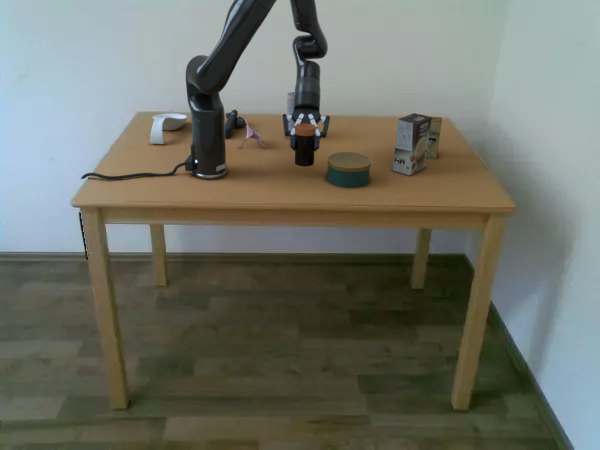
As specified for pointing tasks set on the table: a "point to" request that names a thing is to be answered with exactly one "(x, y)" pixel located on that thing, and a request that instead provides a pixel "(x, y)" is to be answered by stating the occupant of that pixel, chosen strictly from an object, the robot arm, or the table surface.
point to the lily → (252, 134)
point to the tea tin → (304, 144)
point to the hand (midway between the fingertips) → (304, 149)
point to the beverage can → (290, 109)
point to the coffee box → (411, 143)
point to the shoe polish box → (434, 137)
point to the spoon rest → (165, 126)
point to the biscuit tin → (348, 169)
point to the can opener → (233, 122)
